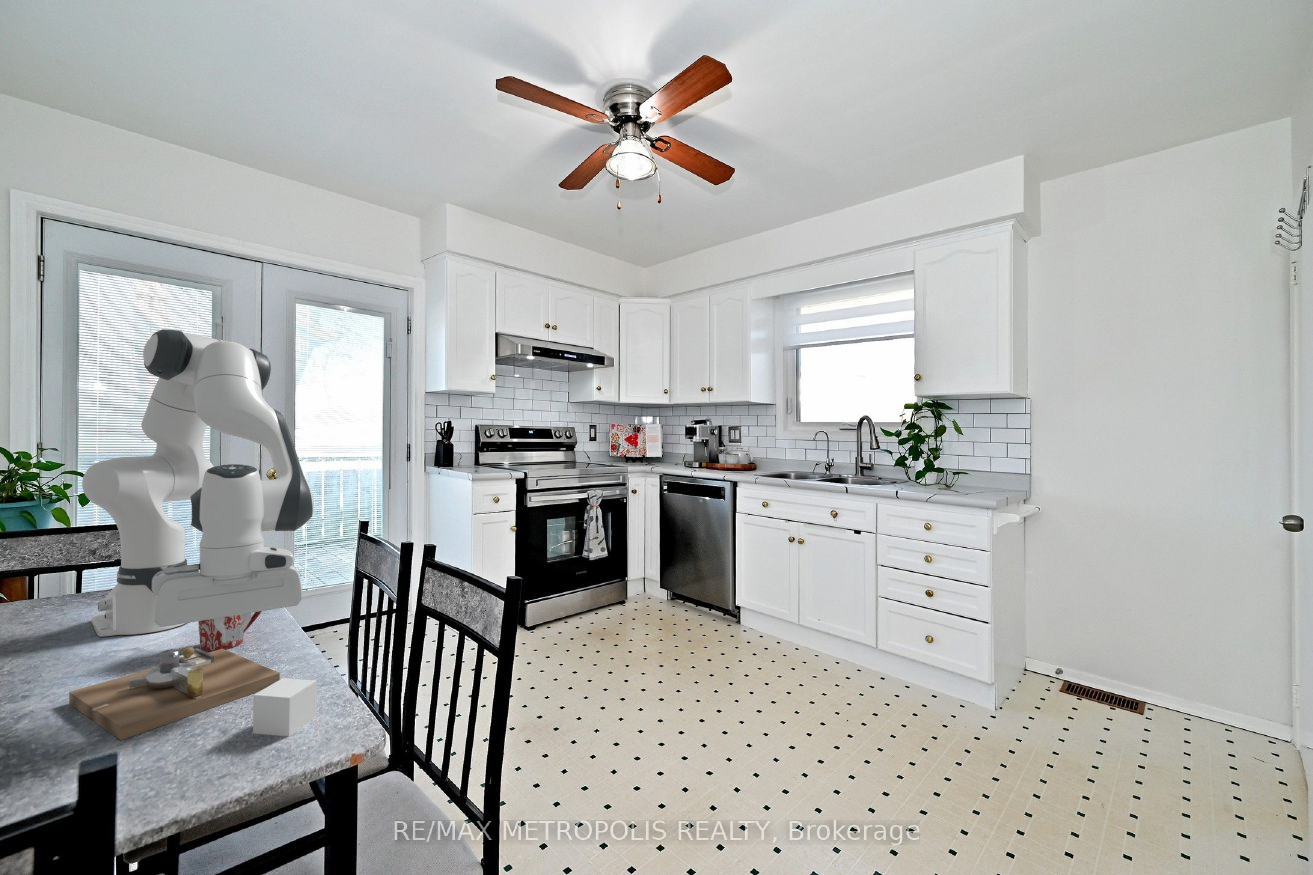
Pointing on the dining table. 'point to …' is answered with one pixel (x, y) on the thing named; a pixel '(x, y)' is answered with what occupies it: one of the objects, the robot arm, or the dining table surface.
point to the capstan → (173, 675)
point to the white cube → (284, 707)
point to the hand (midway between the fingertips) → (232, 640)
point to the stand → (170, 693)
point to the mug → (213, 636)
